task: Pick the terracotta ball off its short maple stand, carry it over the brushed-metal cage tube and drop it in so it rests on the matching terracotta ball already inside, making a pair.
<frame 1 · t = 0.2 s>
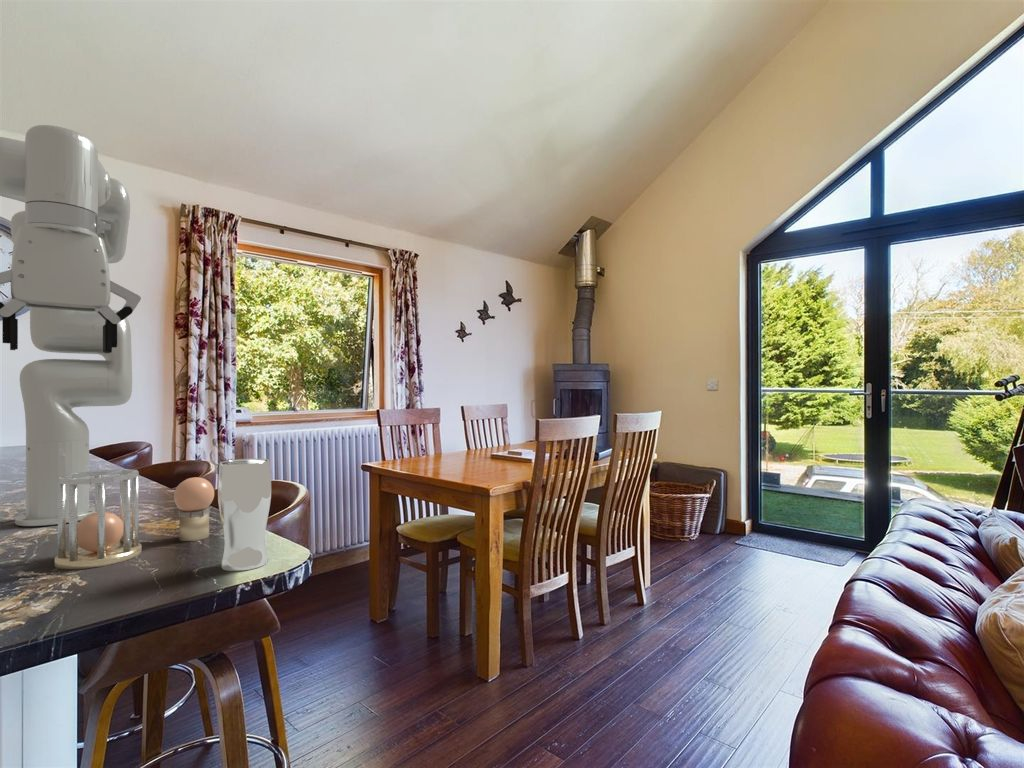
hand: (62, 351, 71), 31 cm above the countertop, tool pointing down, fingers open, 9 cm apart
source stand: (194, 537, 91), on the countertop
cage tube: (99, 557, 81), on the countertop
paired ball: (99, 531, 81), point 4 cm above the countertop, touching cage tube
beer glass: (245, 565, 77), on the countertop
terracotta ball: (194, 494, 91), point 7 cm above the countertop, touching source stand
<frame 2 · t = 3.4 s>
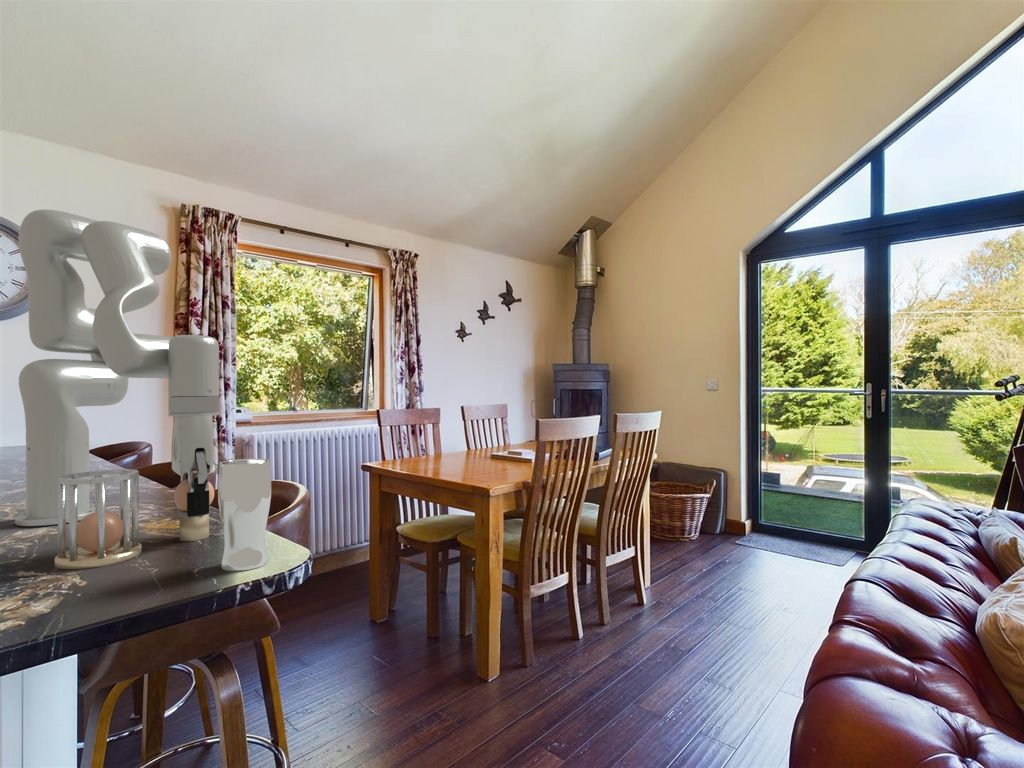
hand: (194, 510, 91), 5 cm above the countertop, tool pointing down, fingers closed on terracotta ball, 5 cm apart
terracotta ball: (194, 494, 91), point 7 cm above the countertop, touching gripper, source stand
everything else where it was.
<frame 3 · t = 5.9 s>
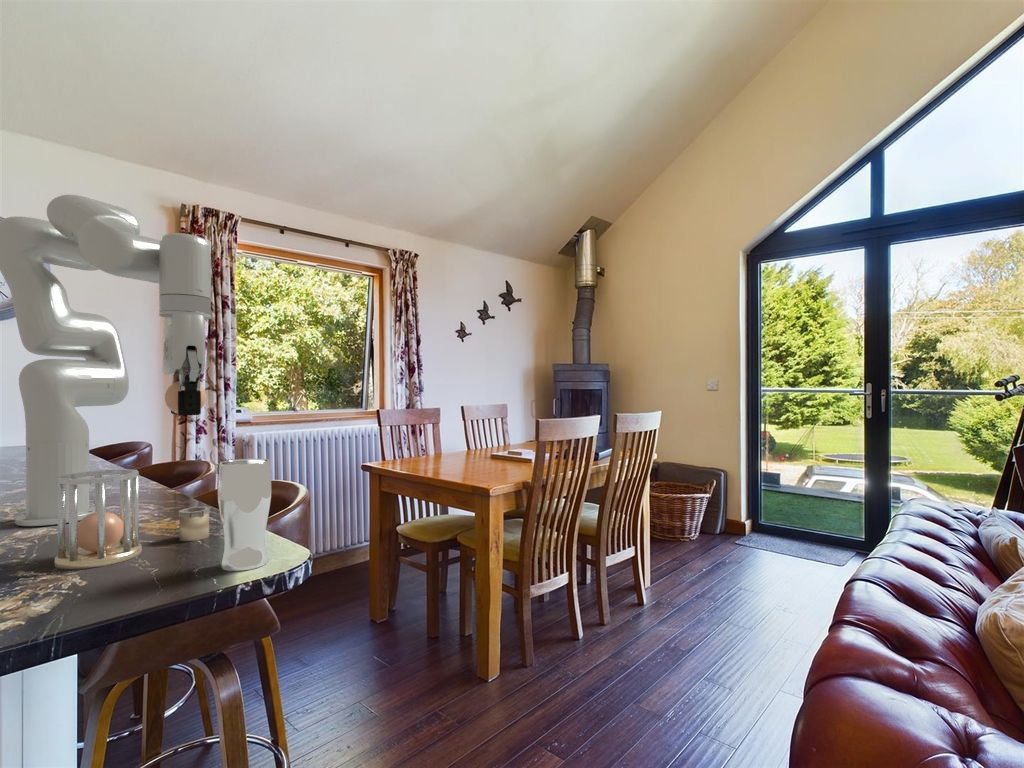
hand: (185, 413, 90), 21 cm above the countertop, tool pointing down, fingers closed on terracotta ball, 5 cm apart
terracotta ball: (185, 397, 90), point 24 cm above the countertop, touching gripper
everything else where it was.
when the fingers open (15 cm above the countertop, at t = 8.3 s): terracotta ball drops 8 cm, resting on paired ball.
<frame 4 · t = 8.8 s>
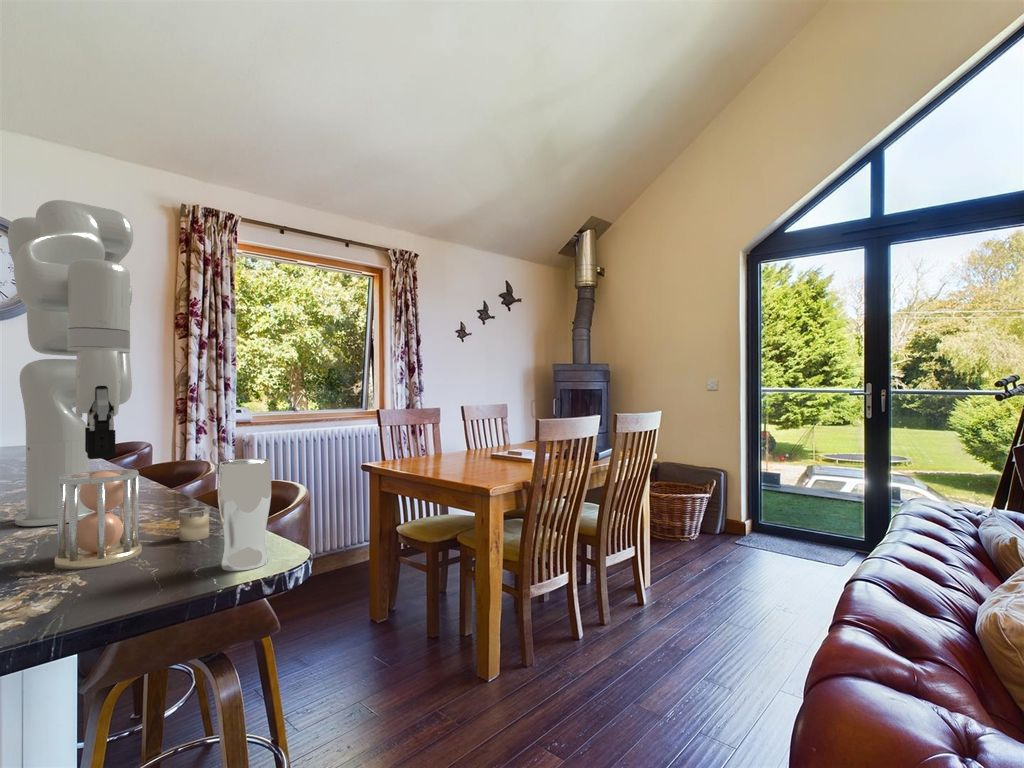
hand: (99, 455, 81), 16 cm above the countertop, tool pointing down, fingers open, 9 cm apart
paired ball: (98, 531, 80), point 4 cm above the countertop, touching cage tube, terracotta ball
terracotta ball: (104, 491, 81), point 10 cm above the countertop, tilted 25°, touching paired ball
everything else where it was.
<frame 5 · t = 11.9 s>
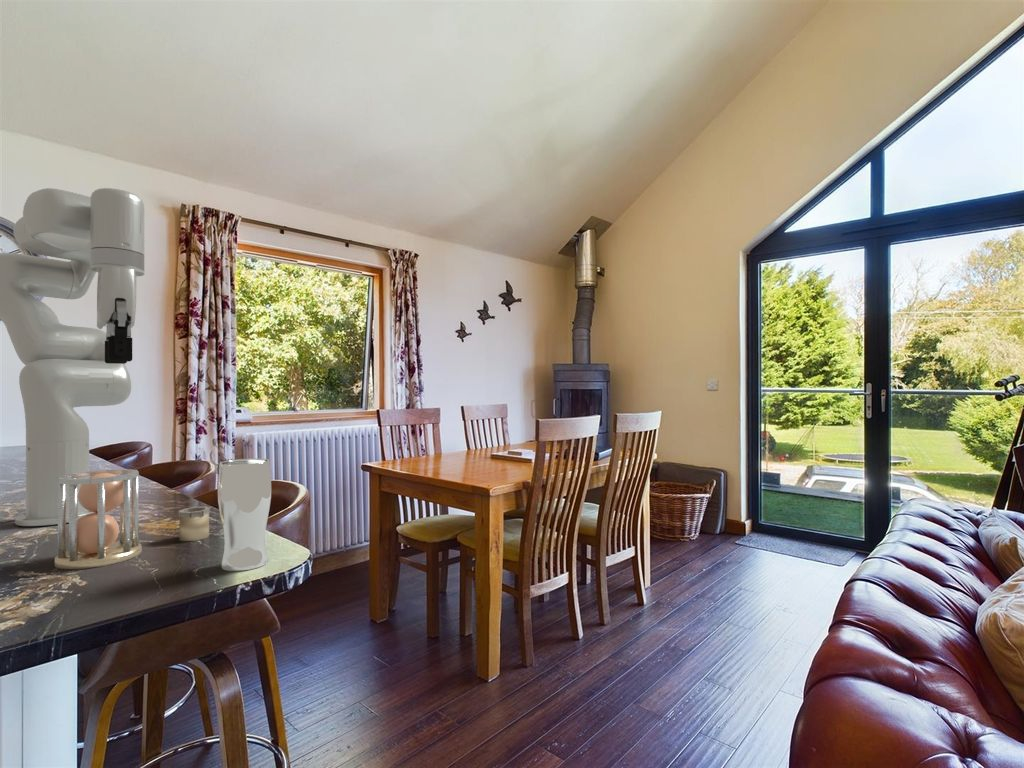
hand: (118, 362, 92), 30 cm above the countertop, tool pointing down, fingers open, 9 cm apart
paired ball: (94, 533, 80), point 4 cm above the countertop, tilted 18°, touching cage tube, terracotta ball
terracotta ball: (102, 492, 82), point 10 cm above the countertop, tilted 55°, touching cage tube, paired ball
everything else where it was.
at the end: terracotta ball 1.1 cm off-centre on the cage tube, point 9.7 cm above the cage tube's base; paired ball 1.0 cm off-centre on the cage tube, point 4.0 cm above the cage tube's base; the gripper is holding nothing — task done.
